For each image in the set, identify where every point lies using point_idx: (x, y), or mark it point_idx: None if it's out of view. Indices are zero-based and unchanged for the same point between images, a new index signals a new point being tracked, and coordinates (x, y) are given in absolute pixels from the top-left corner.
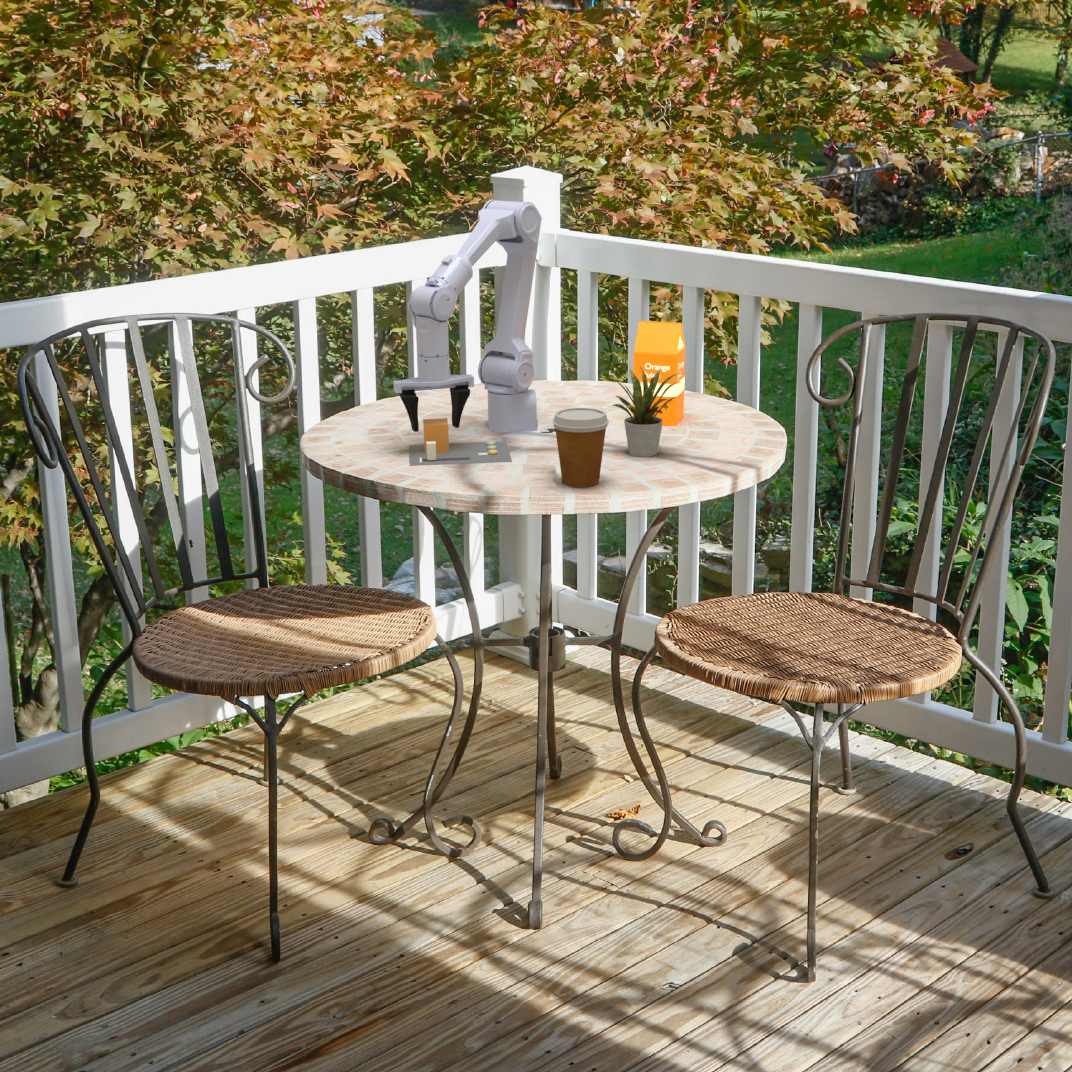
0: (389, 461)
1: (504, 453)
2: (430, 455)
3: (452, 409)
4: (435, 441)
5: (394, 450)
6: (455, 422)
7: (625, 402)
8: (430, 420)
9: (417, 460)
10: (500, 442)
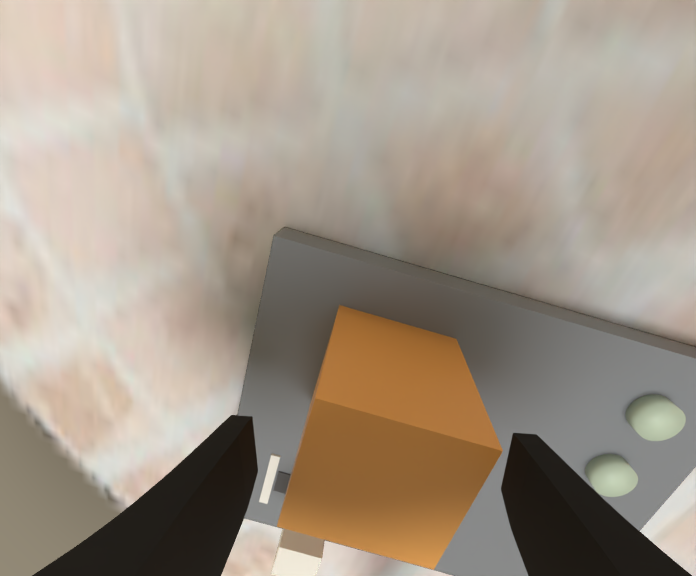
0: (178, 323)
1: None
2: None
3: (581, 539)
4: (320, 562)
5: (222, 152)
6: (513, 522)
7: None
8: (355, 454)
9: (257, 475)
10: None
